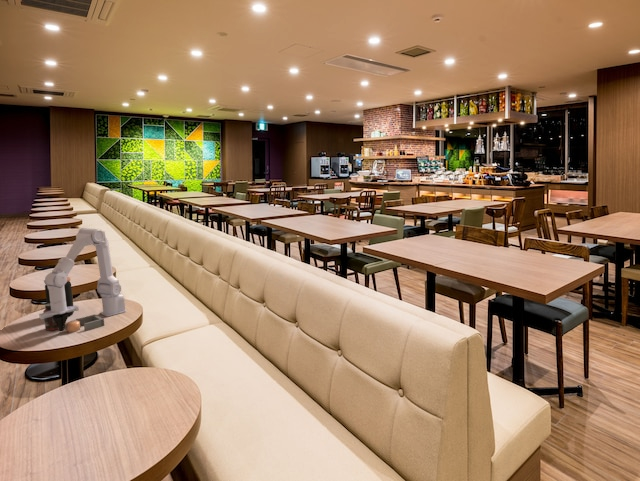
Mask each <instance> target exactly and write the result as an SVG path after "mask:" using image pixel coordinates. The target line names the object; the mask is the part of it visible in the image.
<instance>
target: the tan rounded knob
mask: <svg viewBox="0 0 640 481" xmlns="http://www.w3.org/2000/svg"><path fill="white" fill-rule="evenodd" d="M65 326H66V331H67V333H76V332H79V331H81V325H80V322H79V321H76V320H72V321H68V322H66V323H65Z"/></svg>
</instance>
